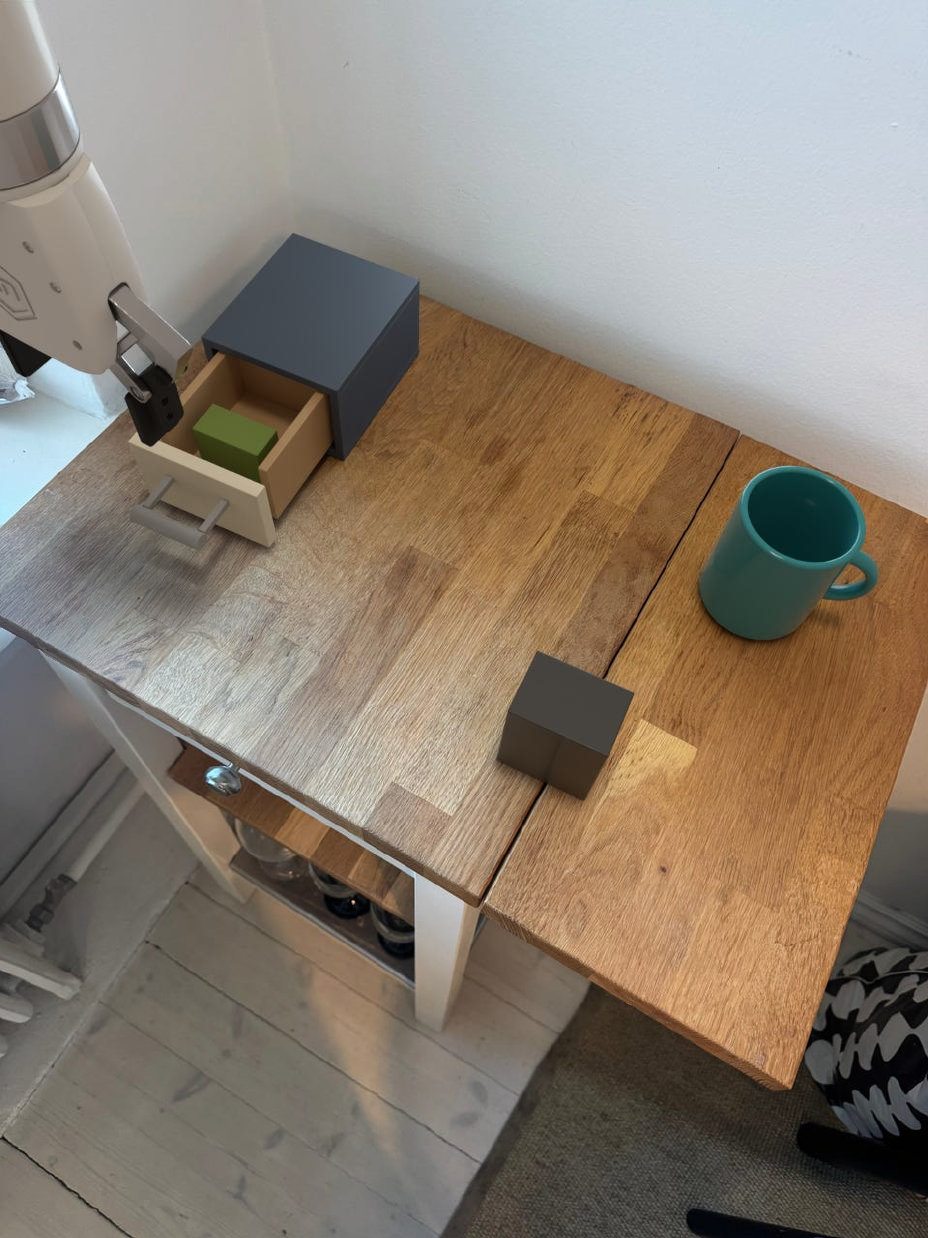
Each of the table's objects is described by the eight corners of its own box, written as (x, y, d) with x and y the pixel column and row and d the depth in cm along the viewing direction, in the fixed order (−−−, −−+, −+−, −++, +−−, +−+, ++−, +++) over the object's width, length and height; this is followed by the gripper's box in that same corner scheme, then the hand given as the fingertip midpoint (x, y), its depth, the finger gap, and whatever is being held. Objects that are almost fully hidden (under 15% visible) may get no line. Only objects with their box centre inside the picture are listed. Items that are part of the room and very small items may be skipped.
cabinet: (344, 460, 78) (336, 391, 71) (220, 409, 80) (200, 336, 73) (419, 353, 85) (419, 279, 77) (303, 308, 87) (292, 232, 79)
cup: (835, 670, 70) (903, 597, 61) (686, 623, 72) (730, 545, 62) (848, 578, 75) (914, 497, 65) (708, 536, 76) (751, 450, 66)
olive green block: (203, 464, 75) (191, 428, 71) (222, 439, 76) (212, 402, 72) (265, 491, 74) (257, 455, 70) (284, 465, 75) (277, 429, 71)
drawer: (237, 592, 70) (221, 544, 64) (115, 537, 72) (89, 485, 66) (350, 433, 78) (345, 377, 72) (238, 388, 80) (224, 329, 74)
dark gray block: (495, 760, 65) (507, 711, 57) (522, 703, 68) (537, 649, 60) (584, 801, 64) (608, 757, 56) (608, 742, 66) (635, 692, 59)
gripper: (-224, 91, 40) (-51, 374, 54) (74, 241, 36) (172, 500, 51) (-90, 18, 43) (38, 303, 58) (196, 148, 39) (254, 417, 54)
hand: (101, 395), depth 54 cm, fingers open, 9 cm apart
